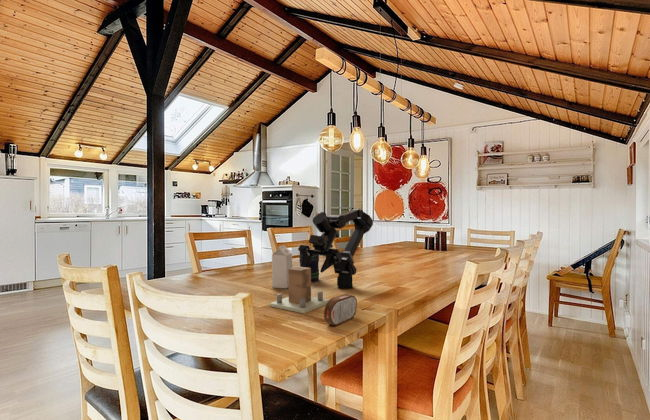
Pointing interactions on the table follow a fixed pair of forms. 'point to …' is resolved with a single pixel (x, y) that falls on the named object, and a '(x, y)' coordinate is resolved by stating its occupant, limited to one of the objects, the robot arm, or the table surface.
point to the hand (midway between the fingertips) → (311, 270)
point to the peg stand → (301, 307)
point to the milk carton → (281, 267)
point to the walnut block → (299, 284)
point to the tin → (340, 309)
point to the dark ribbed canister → (312, 267)
